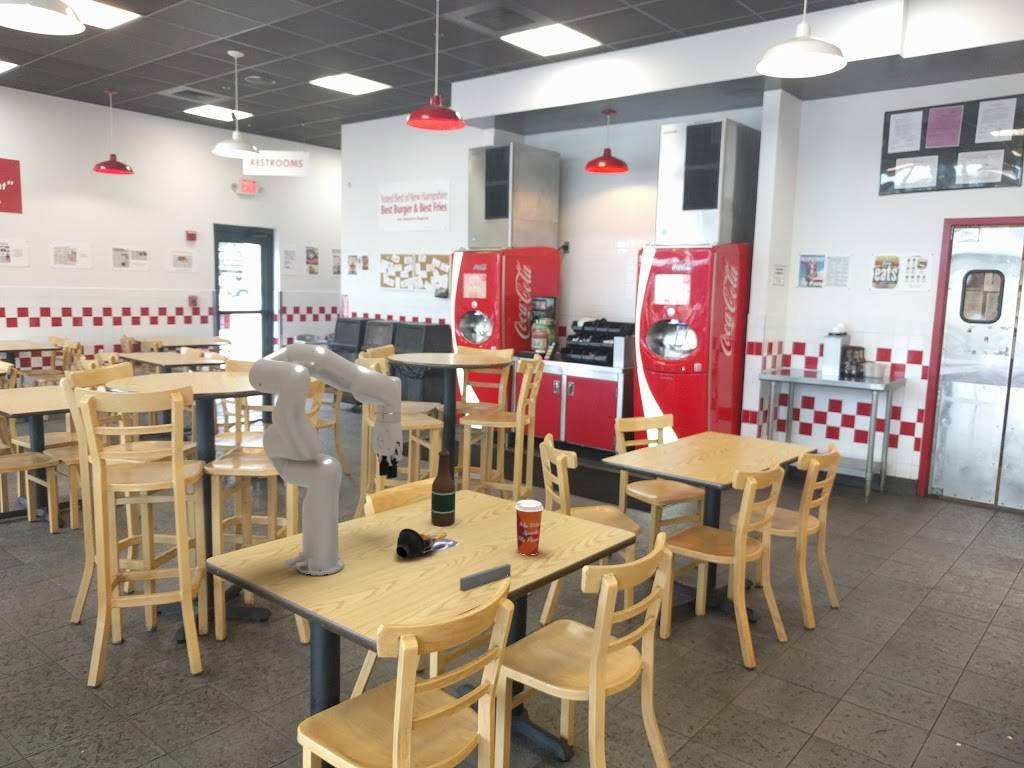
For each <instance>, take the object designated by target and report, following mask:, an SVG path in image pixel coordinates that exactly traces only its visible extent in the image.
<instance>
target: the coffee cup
mask: <svg viewBox="0 0 1024 768" xmlns="http://www.w3.org/2000/svg"><path fill="white" fill-rule="evenodd" d="M515 510H516V511H515V512H516V539H517V540H516V542H517V543H516V544H517V546H516V547H517V553H518V554H519V553H521V554H525V555H531V554H536V553H537V552H538V553H539V548H540V547H539V545H540V538H541V537H540V536H541V535H540V534H541V524H542V513H543V510H544V506H543V504H542V502H541V501H538V500H534V499H521V500H517V502H516V505H515ZM538 553H537V554H538ZM521 554H520V555H521ZM537 554H536V555H537Z"/></svg>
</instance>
